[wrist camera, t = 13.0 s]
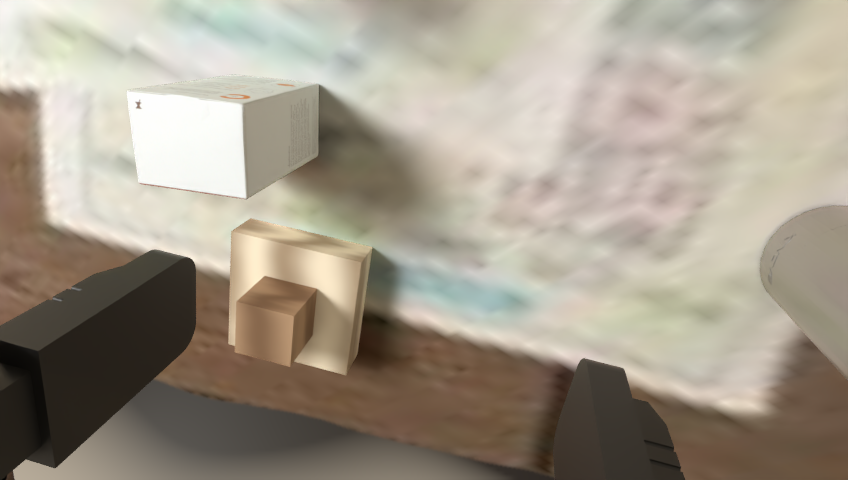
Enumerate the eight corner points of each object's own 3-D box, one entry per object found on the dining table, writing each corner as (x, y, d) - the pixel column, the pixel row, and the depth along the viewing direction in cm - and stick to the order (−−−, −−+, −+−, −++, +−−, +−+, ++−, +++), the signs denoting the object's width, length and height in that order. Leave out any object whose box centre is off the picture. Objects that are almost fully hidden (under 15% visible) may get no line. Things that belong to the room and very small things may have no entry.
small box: (235, 146, 47) (134, 184, 35) (231, 72, 45) (122, 87, 33) (321, 158, 46) (247, 201, 34) (321, 83, 43) (242, 101, 32)
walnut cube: (317, 288, 47) (294, 316, 42) (312, 335, 49) (290, 366, 44) (264, 275, 47) (236, 301, 43) (262, 322, 49) (234, 352, 45)
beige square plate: (374, 245, 49) (361, 262, 45) (358, 351, 53) (346, 375, 50) (253, 216, 50) (231, 231, 46) (248, 323, 55) (228, 344, 51)
